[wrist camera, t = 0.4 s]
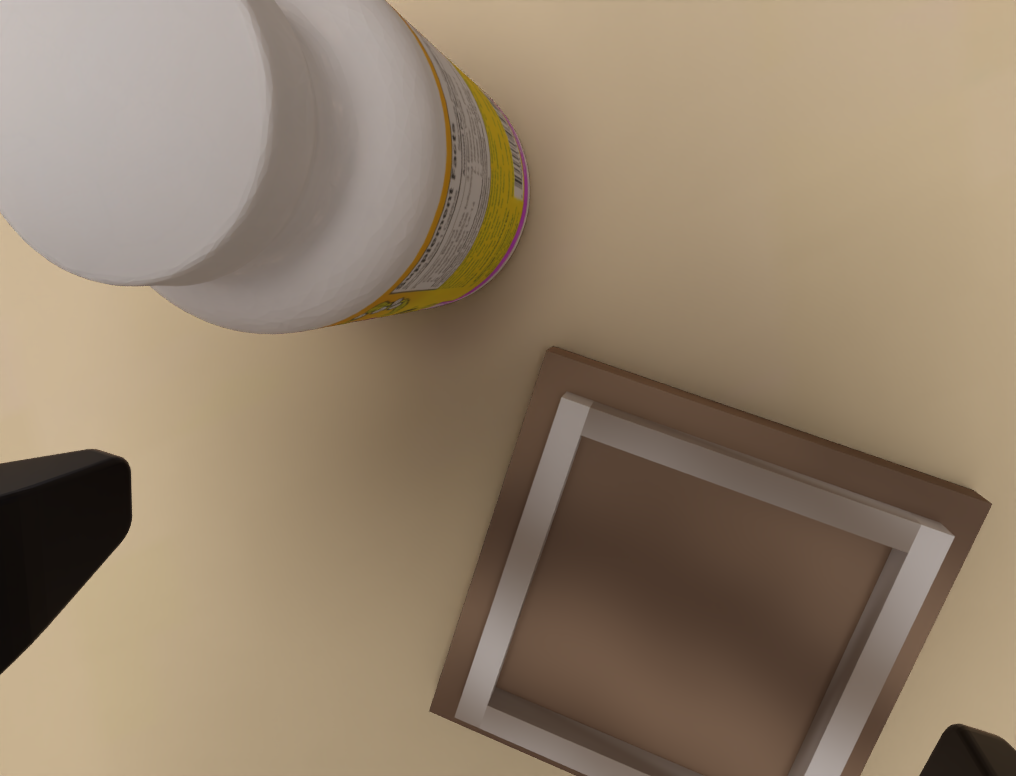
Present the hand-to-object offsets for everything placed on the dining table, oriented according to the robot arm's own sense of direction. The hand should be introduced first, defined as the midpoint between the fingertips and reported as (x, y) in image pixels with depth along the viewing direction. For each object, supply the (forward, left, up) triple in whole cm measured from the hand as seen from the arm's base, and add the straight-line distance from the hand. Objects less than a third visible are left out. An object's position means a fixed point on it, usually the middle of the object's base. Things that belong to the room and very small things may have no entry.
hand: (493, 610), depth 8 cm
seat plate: (-5, -4, -14) cm, 16 cm away
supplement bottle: (+4, +7, -15) cm, 17 cm away
